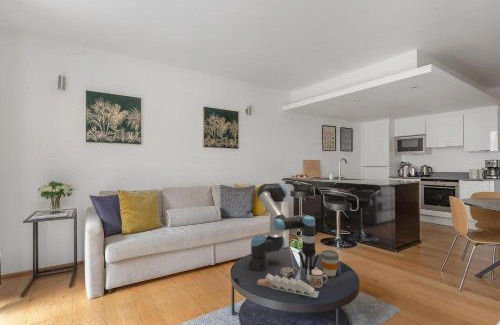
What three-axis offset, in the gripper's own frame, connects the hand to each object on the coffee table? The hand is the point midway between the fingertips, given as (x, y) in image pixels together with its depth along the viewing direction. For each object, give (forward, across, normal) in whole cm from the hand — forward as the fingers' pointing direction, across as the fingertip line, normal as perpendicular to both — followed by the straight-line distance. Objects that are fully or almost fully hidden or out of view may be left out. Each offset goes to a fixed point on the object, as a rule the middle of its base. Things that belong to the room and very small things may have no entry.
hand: (308, 279), depth 164 cm
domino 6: (+7, +3, 0) cm, 8 cm away
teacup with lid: (+9, +4, +13) cm, 16 cm away
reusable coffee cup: (+9, +9, +35) cm, 37 cm away
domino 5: (+7, -2, 0) cm, 8 cm away
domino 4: (+7, -7, 0) cm, 10 cm away
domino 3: (+7, -12, 0) cm, 14 cm away
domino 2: (+7, -17, 0) cm, 19 cm away
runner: (+9, -9, 0) cm, 13 cm away
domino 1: (+7, -22, 0) cm, 23 cm away
